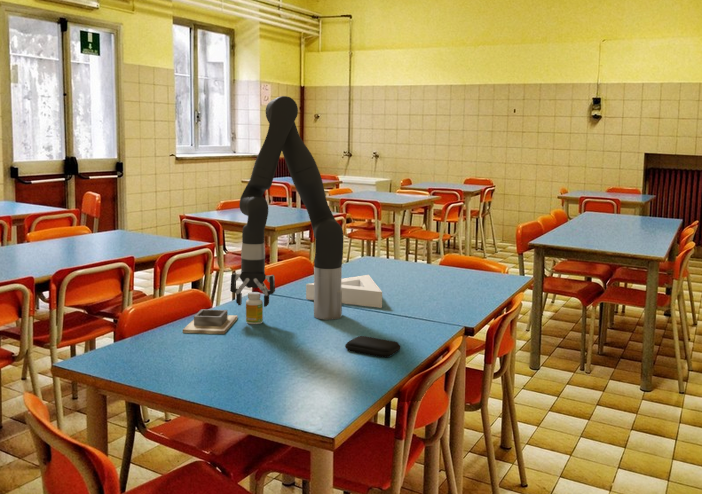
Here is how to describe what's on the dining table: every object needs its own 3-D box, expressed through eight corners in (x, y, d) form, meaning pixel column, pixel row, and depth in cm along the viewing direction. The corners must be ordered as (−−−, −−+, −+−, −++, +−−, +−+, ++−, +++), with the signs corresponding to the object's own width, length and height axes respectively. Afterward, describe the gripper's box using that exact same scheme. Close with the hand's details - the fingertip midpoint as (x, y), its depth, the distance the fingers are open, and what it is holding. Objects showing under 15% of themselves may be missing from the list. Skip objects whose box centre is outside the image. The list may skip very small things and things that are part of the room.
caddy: (237, 318, 230) (237, 306, 230) (224, 334, 213) (224, 321, 212) (199, 317, 231) (198, 305, 231) (182, 332, 213) (182, 320, 213)
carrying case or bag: (404, 350, 200) (360, 342, 208) (405, 340, 200) (360, 332, 207) (388, 360, 191) (342, 351, 199) (388, 350, 191) (342, 341, 198)
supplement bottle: (259, 325, 223) (259, 295, 221) (243, 324, 224) (243, 294, 222) (264, 320, 228) (264, 292, 226) (249, 319, 229) (249, 291, 228)
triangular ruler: (306, 300, 258) (306, 284, 257) (333, 286, 282) (334, 271, 281) (381, 309, 247) (382, 292, 246) (404, 294, 271) (404, 278, 270)
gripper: (277, 255, 226) (276, 304, 229) (234, 253, 227) (234, 301, 230) (272, 259, 218) (271, 309, 221) (228, 257, 220) (228, 307, 222)
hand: (252, 305), depth 225 cm, fingers open, 8 cm apart
